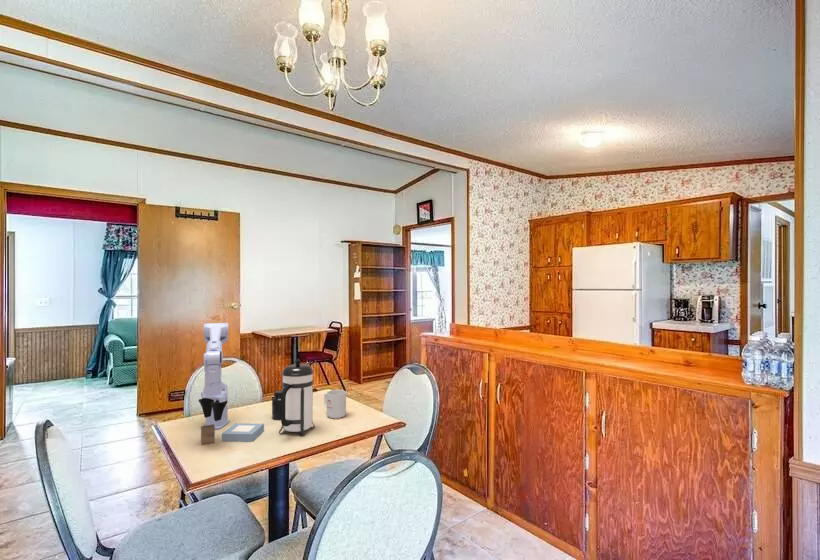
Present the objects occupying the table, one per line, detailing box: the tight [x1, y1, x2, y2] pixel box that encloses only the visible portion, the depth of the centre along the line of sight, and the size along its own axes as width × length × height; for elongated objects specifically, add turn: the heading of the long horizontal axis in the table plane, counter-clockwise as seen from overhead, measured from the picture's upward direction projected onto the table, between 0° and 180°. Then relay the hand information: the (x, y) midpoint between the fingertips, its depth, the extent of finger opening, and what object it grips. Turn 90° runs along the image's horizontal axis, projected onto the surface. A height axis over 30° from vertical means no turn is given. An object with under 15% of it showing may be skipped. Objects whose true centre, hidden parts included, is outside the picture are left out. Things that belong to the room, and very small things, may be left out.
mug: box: [323, 389, 347, 419], centre depth 194 cm, size 12×9×11 cm
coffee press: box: [278, 358, 316, 437], centre depth 172 cm, size 17×16×30 cm
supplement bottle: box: [271, 389, 282, 421], centre depth 190 cm, size 7×7×12 cm
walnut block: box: [200, 424, 216, 446], centre depth 161 cm, size 4×4×6 cm
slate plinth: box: [221, 422, 265, 443], centre depth 167 cm, size 12×12×3 cm
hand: (212, 418), depth 158 cm, fingers open, 7 cm apart
